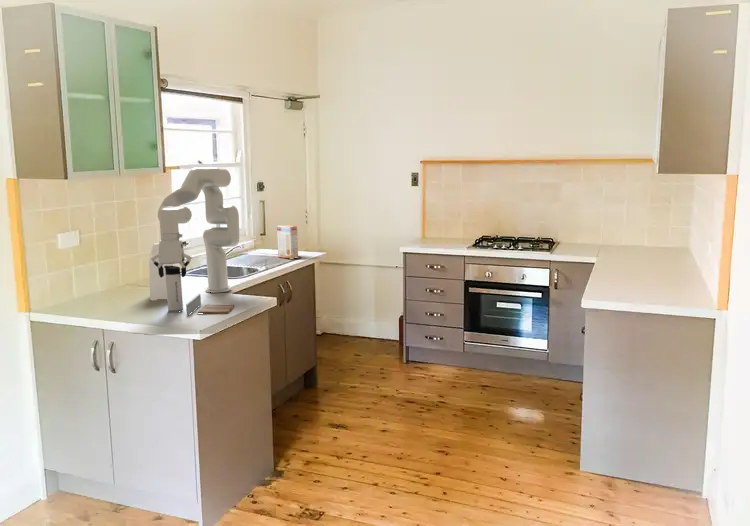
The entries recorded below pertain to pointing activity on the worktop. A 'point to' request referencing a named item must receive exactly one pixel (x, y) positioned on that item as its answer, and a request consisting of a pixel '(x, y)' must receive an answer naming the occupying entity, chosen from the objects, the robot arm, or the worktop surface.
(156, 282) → the milk
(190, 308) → the acrylic wall
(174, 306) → the travel mug
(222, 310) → the walnut board
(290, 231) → the cracker box
